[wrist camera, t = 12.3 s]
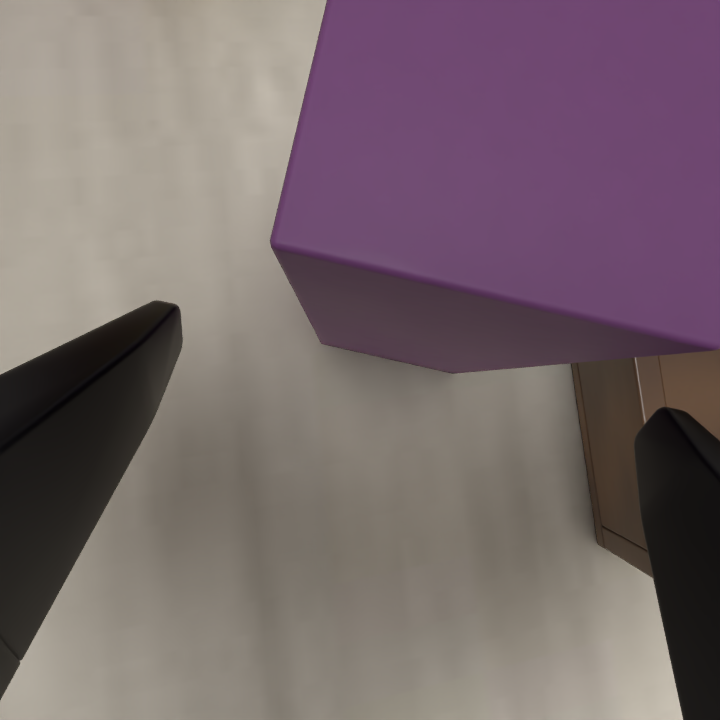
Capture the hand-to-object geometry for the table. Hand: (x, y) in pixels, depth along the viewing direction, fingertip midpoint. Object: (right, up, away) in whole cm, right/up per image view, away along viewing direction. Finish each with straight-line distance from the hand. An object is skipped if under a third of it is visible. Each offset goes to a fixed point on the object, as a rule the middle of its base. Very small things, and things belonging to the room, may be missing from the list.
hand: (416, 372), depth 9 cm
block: (0, +3, +9) cm, 9 cm away
